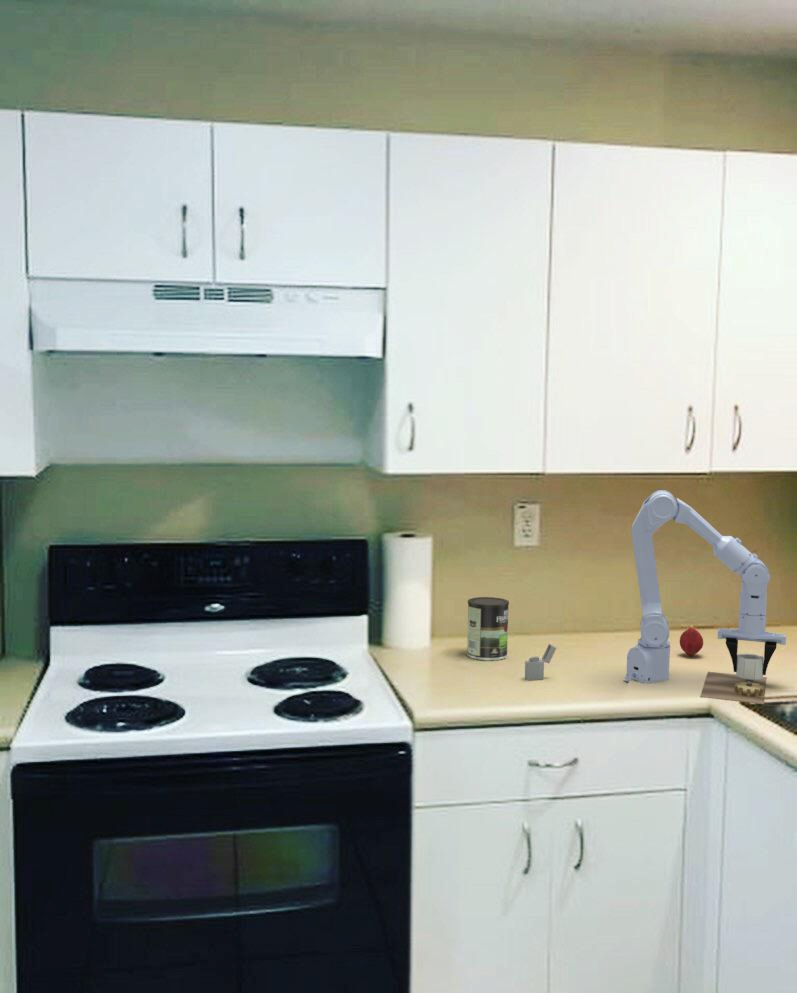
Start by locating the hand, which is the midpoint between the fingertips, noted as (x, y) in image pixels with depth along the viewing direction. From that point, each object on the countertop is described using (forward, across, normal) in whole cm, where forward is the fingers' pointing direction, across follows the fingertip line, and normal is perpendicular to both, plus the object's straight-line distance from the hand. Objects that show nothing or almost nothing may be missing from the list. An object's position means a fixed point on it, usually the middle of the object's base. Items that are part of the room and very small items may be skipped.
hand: (749, 672), depth 231 cm
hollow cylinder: (+1, 0, 0) cm, 1 cm away
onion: (+4, +15, -25) cm, 29 cm away
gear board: (+4, +3, +4) cm, 6 cm away
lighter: (+4, +46, +11) cm, 47 cm away
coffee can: (+4, +63, -5) cm, 63 cm away
